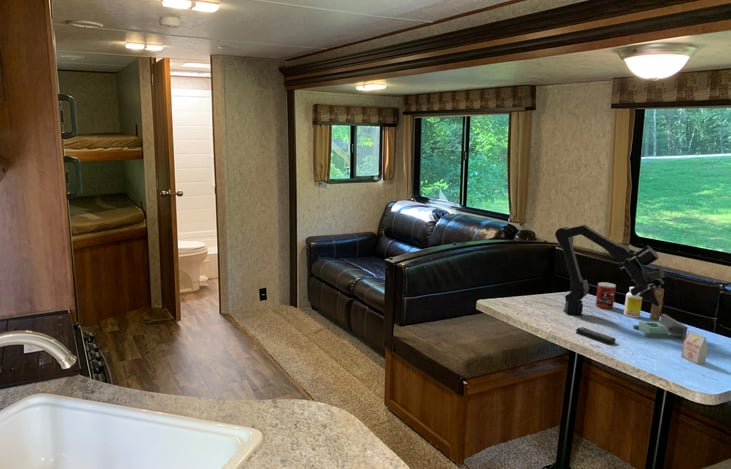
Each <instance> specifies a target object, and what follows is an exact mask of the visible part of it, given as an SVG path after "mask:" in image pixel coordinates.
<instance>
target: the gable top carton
mask: <svg viewBox="0 0 731 469" xmlns="http://www.w3.org/2000/svg"><path fill="white" fill-rule="evenodd" d="M706 338H707V337H706V336H703V335H701V334H698V333H696V332H694V331H691V330H688V331H687V334H686V338H685V340H684V341H683V343H682V344H683V345H682V349H681V354H680V355H681V358H683V359H685V360H687V361H688V362H691V363H694V365H705V364H706V360H707V355H708V354H707V353H708V344H707V339H706Z"/></svg>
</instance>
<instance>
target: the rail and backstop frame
mask: <svg viewBox="0 0 731 469" xmlns="http://www.w3.org/2000/svg"><path fill="white" fill-rule="evenodd" d="M659 323H660V324H662V325H664V326H665V327H667V328H669V332H668V334H650V333H645V334H644V337H645V338H647V339H648V338H649V339H650V338H652V339H678V340H679V341H680V342H684V340H685V338H686V336H687V334H688V326H686V325H684V324H683V323H681V322H679V321H677V320H676V319H674V318H673V317H671V316H669V315H667V314H666V313H660V320H659ZM638 326H639V324H637V325H635V324H633V327H632V329H634V330H638Z"/></svg>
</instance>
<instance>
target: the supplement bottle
mask: <svg viewBox="0 0 731 469" xmlns="http://www.w3.org/2000/svg"><path fill="white" fill-rule="evenodd" d="M634 287H635V286H629V291H628V292H627V293H626V294H625V301H624V307H623V315H624V316H626V317H628V318H633V319H634V318H635V319H638V318H640V316H641V309H642V302H643V298H642V297H640V296H638V295H640V294H641V293H640V292H639V293H638V294H637V295H636V296H633V295H632V294H631V289H632V288H634Z"/></svg>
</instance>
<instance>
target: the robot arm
mask: <svg viewBox="0 0 731 469" xmlns="http://www.w3.org/2000/svg"><path fill="white" fill-rule="evenodd" d="M580 235H581V236H583V237H584V238H586V239H587V240H590V241H591V242H593V243H595V245H598V246H599V247H601V248H603V249H604V250H606V251H607V253H608V254H609V255H611V257H612V258H614V259H615V260H616V261H619V263H618V264H619V265H618V269H619V270H622V269H625V271H626V272H627V273H628V275H629V276H630V277H631V278H630V281H631V282H632V281H633V282H634V283H635V284H636V285H635V286H633V287H634V288H632V289H631V294H632V295H633V296H636V295H637V294H638V293H639V292H640V295H638V296H640V297H642V299H644V300H646V301H647V302H649V303H650V304H651V305H652V304H654V305H656V306H659V303H658V301H657V299H656V297H655V295H654V288H662V285H664V284H665V281H664V280H663V279H664V278H665V277H666V276H665V273H666V272H665V271H664V270H663V269H662V268H661V267H658V268H655V269H654V271H651V272H650V271H649V270H647V269H644V267H643V266H645V267H648V266H649V265H651V264H653V263H655V261H657V260H659V259H660V256H659V254H658V253H657V252H656V251H655V250H654V249H653V248H652V247H651V246H650V245H645V246H644V247H643V248H642V249H641V250H639V251H637V250H632V249H630V247H629V246H627V245H625V244H622V243H619V242H615V241H613V240H610V239H609V238H607V237H605V235H602V234H601V233H599V232H597V231H596V230H594V229H592V228H591V227H589V226H588V225H587V224H580V225H578V226H574V227H573V226H572V227H569V226H564V227H560V228H558V229H557V230H556V231H555V233H554V236H555V238H556V241H557V243H558V244H559V246H560V247H561V250H562V252H563V255H564V260H565V262H566V266H567V270H568V274H569V277H570V292H569V293H568V294H566V295H565V296H564V298H565V304H564V305H565V306H564V309H563V310H562V311H563V312H564V313H565V314H566V315H568V316H583V309H584V308H583V306H584V304H583V298H584V297H586V296H588V294H589V291H590V286H589V284H588V282H589V281H588V280H587V279H585V280H584V279H583V277H582V275H581V271H580V267H579V263H578V259H577V256H576V253H575V249H574V237H576V236H580ZM662 305H664V301H662Z"/></svg>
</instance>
